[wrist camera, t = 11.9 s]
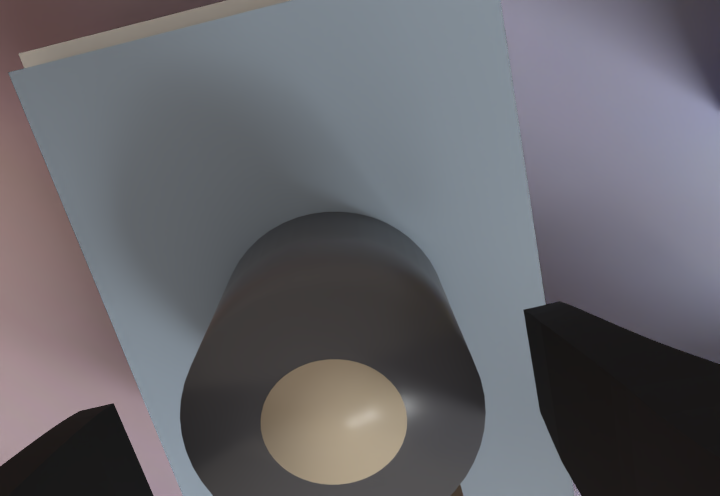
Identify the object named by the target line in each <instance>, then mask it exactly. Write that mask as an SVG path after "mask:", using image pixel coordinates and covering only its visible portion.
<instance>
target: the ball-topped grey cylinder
mask: <svg viewBox="0 0 720 496" xmlns="http://www.w3.org/2000/svg"><path fill="white" fill-rule="evenodd" d="M485 416H486V410H485V396H484V391H483V387H482V382H481V378H480V376H479V373H478V371H477V368H476V366H475V363H474V361H473V358H472V356H471V354H470V351H469V349H468V347H467V344H466V342H465V339H464V337H463V335H462V332H461V330H460V327H459V325H458V323H457V320H456V318H455V316H454V313H453V311H452V308H451V306H450V304H449V301H448V299H447V296H446V294H445V292H444V289H443V287H442V285H441V282H440V280H439V277H438V275H437V273H436V271H435V269H434V267H433V265H432V264H431V262H430V260H429V259H428V257H427V256H426V255H425V254H424V252H423V251H422V250H421V249H420V248H419V247H418V246H417V245H416V244H415V243H414V242H413V241H412V240H411V239H410V238H409V237H408V236H406V235H405V234H403V233H402V232H401V231H399V230H398V229H396V228H394V227H392V226H391V225H389V224H387V223H385V222H382V221H380V220H377V219H375V218H372V217H369V216H365V215H361V214H357V213H348V212H321V213H314V214H309V215H305V216H301V217H297V218H295V219H292V220H290V221H287V222H285V223H282V224H281V225H279V226H277V227H275V228H274V229H272V230H270V231H269V232H267V233H266V234H265V235H263V236H262V237H261V238H259V239H258V240H257V241H256V242H255V243H254V244H253V245H252V246H251V247H250V248H249V249H248V250H247V251H246V253H245V254H244V255H243V257H242V258H241V259H240V261H239V262H238V264H237V266H236V268H235V270H234V271H233V273H232V275H231V278H230V280H229V282H228V284H227V286H226V289H225V291H224V293H223V295H222V298H221V300H220V302H219V304H218V306H217V309H216V311H215V313H214V315H213V318H212V320H211V322H210V324H209V327H208V329H207V331H206V333H205V335H204V338H203V340H202V342H201V344H200V347H199V349H198V351H197V353H196V355H195V358H194V360H193V362H192V364H191V367H190V369H189V372H188V375H187V377H186V380H185V383H184V387H183V392H182V397H181V405H180V424H181V433H182V438H183V442H184V446H185V449H186V453H187V455H188V457H189V459H190V462H191V464H192V466H193V468H194V470H195V472H196V473H197V475H198V476H199V478H200V480H201V481H202V483H203V484H204V485H205V486H206V488H207V489H208V490H209V491H210V493H211V494H212V495H213V496H450V495H451V494H452V493H453V492H454V491H455V490H456V489H457V488H458V486H459V485H460V484H461V482H462V481H463V480H464V479H465V477H466V476H467V474H468V472H469V470H470V469H471V467H472V465H473V463H474V461H475V459H476V456H477V454H478V451H479V449H480V446H481V442H482V438H483V433H484V428H485Z"/></svg>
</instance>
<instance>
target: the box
mask: <svg viewBox="0 0 720 496" xmlns="http://www.w3.org/2000/svg"><path fill="white" fill-rule="evenodd" d="M287 1H291V0H226V1H222V2H218V3H214V4H210V5H206V6H202V7H199V8H195V9H191V10H187V11H183V12H179V13H175V14H171V15H167V16H163V17H160V18H156V19H152V20H148V21H144V22H140V23H136V24H132V25H128V26H124V27H120V28H117V29H113V30H109V31H105V32H101V33H97V34H93V35H89V36H85V37H81V38H78V39H74V40H70V41H66V42H62V43H58V44H54V45H50V46H46V47H42V48H39V49H35V50H31V51H27V52H23V53H19V57H20V59H21V61H22V64H23V66H24V68H28V67H32V66H36V65H40V64H44V63H48V62H52V61H55V60H59V59H63V58H67V57H71V56H75V55H79V54H83V53H87V52H91V51H95V50H99V49H102V48H106V47H110V46H114V45H118V44H122V43H126V42H130V41H134V40H138V39H142V38H146V37H150V36H153V35H157V34H161V33H165V32H169V31H173V30H177V29H181V28H185V27H189V26H193V25H197V24H201V23H204V22H208V21H212V20H216V19H220V18H224V17H228V16H232V15H236V14H240V13H244V12H248V11H251V10H255V9H259V8H263V7H267V6H271V5H275V4H279V3H283V2H287Z"/></svg>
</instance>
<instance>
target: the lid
mask: <svg viewBox="0 0 720 496" xmlns="http://www.w3.org/2000/svg"><path fill="white" fill-rule="evenodd" d="M8 73H9V76H10V78H11V80H12V83H13V85H14V88H15V90H16V93H17V95H18V97H19V100H20V102H21V105H22V107H23V110H24V112H25V114H26V117H27V119H28V122H29V124H30V126H31V129H32V131H33V134H34V136H35V139H36V141H37V143H38V146H39V148H40V151H41V153H42V156H43V158H44V160H45V163H46V165H47V168H48V170H49V172H50V175H51V177H52V180H53V182H54V185H55V187H56V189H57V192H58V194H59V197H60V199H61V202H62V204H63V206H64V209H65V211H66V214H67V216H68V218H69V221H70V223H71V226H72V228H73V231H74V233H75V235H76V238H77V240H78V243H79V245H80V248H81V250H82V252H83V255H84V257H85V260H86V262H87V264H88V267H89V269H90V272H91V274H92V277H93V279H94V281H95V284H96V286H97V289H98V291H99V294H100V296H101V298H102V301H103V303H104V306H105V308H106V310H107V313H108V315H109V318H110V320H111V323H112V325H113V327H114V330H115V332H116V335H117V337H118V340H119V342H120V344H121V347H122V349H123V352H124V354H125V356H126V359H127V361H128V364H129V366H130V369H131V371H132V373H133V376H134V378H135V381H136V383H137V386H138V388H139V390H140V393H141V395H142V398H143V400H144V402H145V405H146V407H147V410H148V412H149V415H150V417H151V419H152V422H153V424H154V427H155V429H156V432H157V434H158V436H159V439H160V441H161V444H162V446H163V448H164V451H165V453H166V456H167V458H168V461H169V463H170V465H171V468H172V470H173V473H174V475H175V477H176V480H177V482H178V485H179V487H180V490H181V492H182V494H183V496H213V495H212V494H211V493H210V491H209V490H208V489H207V488H206V486H205V485H204V484H203V483H202V481H201V480H200V478H199V476H198V475H197V473H196V472H195V470H194V468H193V466H192V464H191V462H190V459H189V457H188V455H187V453H186V449H185V446H184V442H183V438H182V433H181V424H180V405H181V397H182V392H183V387H184V383H185V380H186V377H187V375H188V372H189V369H190V367H191V364H192V362H193V360H194V358H195V355H196V353H197V351H198V349H199V347H200V344H201V342H202V340H203V338H204V335H205V333H206V331H207V329H208V327H209V324H210V322H211V320H212V318H213V315H214V313H215V311H216V309H217V306H218V304H219V302H220V300H221V298H222V295H223V293H224V291H225V289H226V286H227V284H228V282H229V280H230V278H231V275H232V273H233V271H234V270H235V268H236V266H237V264H238V262H239V261H240V259H241V258H242V257H243V255H244V254H245V253H246V251H247V250H248V249H249V248H250V247H251V246H252V245H253V244H254V243H255V242H256V241H257V240H258V239H259V238H261V237H262V236H263V235H265V234H266V233H267V232H269V231H270V230H272V229H274V228H275V227H277V226H279V225H281V224H282V223H285V222H287V221H290V220H292V219H295V218H297V217H301V216H305V215H309V214H314V213H321V212H348V213H357V214H361V215H365V216H369V217H372V218H375V219H377V220H380V221H382V222H385V223H387V224H389V225H391V226H392V227H394V228H396V229H398V230H399V231H401V232H402V233H403V234H405V235H406V236H408V237H409V238H410V239H411V240H412V241H413V242H414V243H415V244H416V245H417V246H418V247H419V248H420V249H421V250H422V251H423V252H424V254H425V255H426V256H427V257H428V259H429V260H430V262H431V264H432V265H433V267H434V269H435V271H436V273H437V275H438V277H439V280H440V282H441V285H442V287H443V289H444V292H445V294H446V296H447V299H448V301H449V304H450V306H451V308H452V311H453V313H454V316H455V318H456V320H457V323H458V325H459V327H460V330H461V332H462V335H463V337H464V339H465V342H466V344H467V347H468V349H469V351H470V354H471V356H472V358H473V361H474V363H475V366H476V368H477V371H478V373H479V376H480V378H481V382H482V387H483V391H484V396H485V410H486V416H485V428H484V433H483V438H482V442H481V446H480V449H479V451H478V454H477V456H476V459H475V461H474V463H473V465H472V467H471V469H470V470H469V472H468V474H467V476H466V477H465V479H464V480H463V481H462V482H461V484H460V485H459V486H458V488H457V489H456V490H455V491H454V492H453V493H452V494H451V495H450V496H574V491H573V485H572V478H571V477H570V475H569V473H568V472H567V470H566V468H565V467H564V465H563V463H562V461H561V459H560V457H559V454H558V452H557V450H556V448H555V445H554V443H553V441H552V439H551V436H550V434H549V432H548V429H547V427H546V425H545V422H544V420H543V418H542V415H541V413H540V409H539V403H538V397H537V391H536V384H535V378H534V372H533V366H532V360H531V354H530V348H529V341H528V335H527V329H526V323H525V317H524V311H523V310H524V309H529V308H533V307H538V306H542V305H546V303H545V296H544V290H543V283H542V276H541V270H540V263H539V256H538V249H537V243H536V236H535V229H534V223H533V216H532V209H531V202H530V196H529V189H528V182H527V175H526V169H525V162H524V155H523V149H522V142H521V135H520V128H519V122H518V115H517V108H516V102H515V95H514V88H513V81H512V75H511V68H510V61H509V54H508V48H507V41H506V34H505V28H504V21H503V14H502V7H501V1H500V0H291V1H287V2H283V3H279V4H275V5H271V6H267V7H263V8H259V9H255V10H251V11H248V12H244V13H240V14H236V15H232V16H228V17H224V18H220V19H216V20H212V21H208V22H204V23H201V24H197V25H193V26H189V27H185V28H181V29H177V30H173V31H169V32H165V33H161V34H157V35H153V36H150V37H146V38H142V39H138V40H134V41H130V42H126V43H122V44H118V45H114V46H110V47H106V48H102V49H99V50H95V51H91V52H87V53H83V54H79V55H75V56H71V57H67V58H63V59H59V60H55V61H52V62H48V63H44V64H40V65H36V66H32V67H28V68H24V69H20V70H16V71H12V72H8Z"/></svg>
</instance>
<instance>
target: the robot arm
mask: <svg viewBox="0 0 720 496" xmlns="http://www.w3.org/2000/svg"><path fill="white" fill-rule="evenodd" d="M523 311H524V317H525V323H526V329H527V335H528V341H529V348H530V354H531V360H532V366H533V372H534V378H535V384H536V391H537V397H538V403H539V409H540V413H541V415H542V418H543V420H544V422H545V425H546V427H547V429H548V432H549V434H550V436H551V439H552V441H553V443H554V445H555V448H556V450H557V452H558V454H559V457H560V459H561V461H562V463H563V465H564V467H565V468H566V470H567V472H568V473H569V475H570V477H571V478H572V480H573V482H574V484H575V485H576V487H577V489H578V490H579V492H580V494H581V495H582V496H720V364H718V363H715V362H712V361H709V360H706V359H703V358H700V357H697V356H694V355H691V354H689V353H686V352H683V351H680V350H677V349H674V348H672V347H669V346H666V345H664V344H661V343H659V342H656V341H653V340H651V339H648V338H646V337H643V336H641V335H639V334H636V333H634V332H631V331H629V330H627V329H624V328H622V327H620V326H617V325H615V324H613V323H610V322H608V321H606V320H603V319H601V318H599V317H596V316H594V315H592V314H590V313H587V312H585V311H583V310H580V309H578V308H576V307H573V306H571V305H568V304H565V303H562V302H555V303H551V304H546V305H542V306H538V307H533V308H529V309H524V310H523ZM0 496H153V494H152V491H151V489H150V487H149V484H148V482H147V480H146V477H145V475H144V473H143V470H142V468H141V466H140V463H139V461H138V459H137V457H136V454H135V452H134V450H133V447H132V445H131V443H130V440H129V438H128V436H127V433H126V431H125V429H124V426H123V424H122V422H121V420H120V417H119V415H118V413H117V410H116V408H115V406H114V403H113V404H109V405H104V406H100V407H96V408H91V409H87V410H82V411H79V412H78V413H76V414H74V415H72V416H70V417H69V418H67V419H65V420H64V421H62V422H61V423H59V424H58V425H56V426H55V427H53V428H52V429H51V430H49V431H48V432H46V433H45V434H43V435H42V436H41V437H39V438H38V439H37V440H35V441H34V442H32V443H31V444H30V445H28V446H27V447H26V448H24V449H23V450H22V451H20V452H19V453H18V454H16V455H15V456H14V457H12V458H11V459H10V460H8V461H7V462H6V463H4V464H3V465H2V466H0Z"/></svg>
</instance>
